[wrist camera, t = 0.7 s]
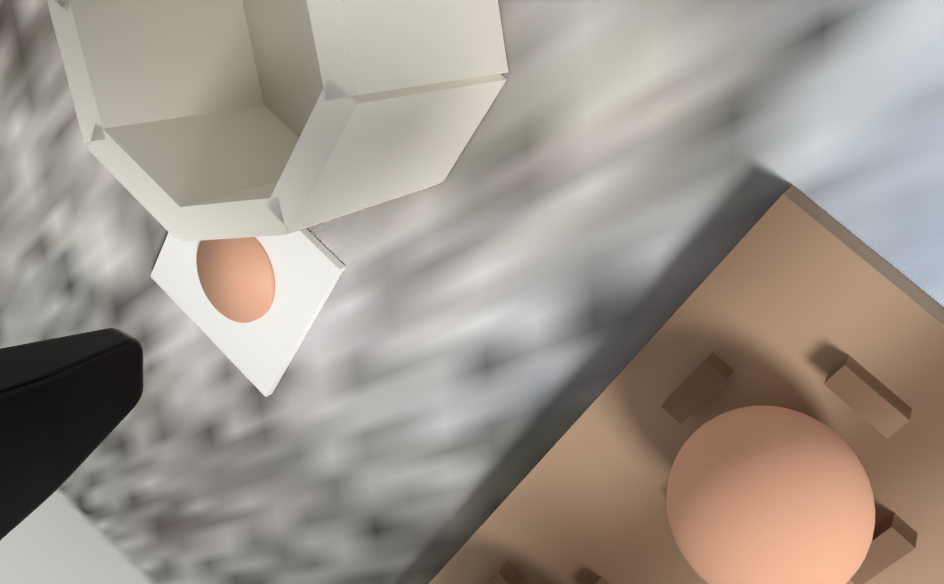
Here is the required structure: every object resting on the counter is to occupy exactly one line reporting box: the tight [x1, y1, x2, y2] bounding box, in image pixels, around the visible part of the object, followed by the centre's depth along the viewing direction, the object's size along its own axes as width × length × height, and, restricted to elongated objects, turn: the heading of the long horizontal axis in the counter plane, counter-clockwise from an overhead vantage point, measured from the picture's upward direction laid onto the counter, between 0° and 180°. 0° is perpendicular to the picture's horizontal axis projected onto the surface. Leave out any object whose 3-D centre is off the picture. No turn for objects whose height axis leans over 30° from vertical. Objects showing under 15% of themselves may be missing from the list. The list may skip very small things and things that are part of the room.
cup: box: [47, 0, 508, 242], centre depth 20 cm, size 8×8×6 cm
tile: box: [151, 229, 346, 397], centre depth 27 cm, size 6×6×1 cm
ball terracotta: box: [666, 405, 875, 584], centre depth 18 cm, size 4×4×4 cm
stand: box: [429, 185, 944, 584], centre depth 22 cm, size 8×18×2 cm, turn 145°
